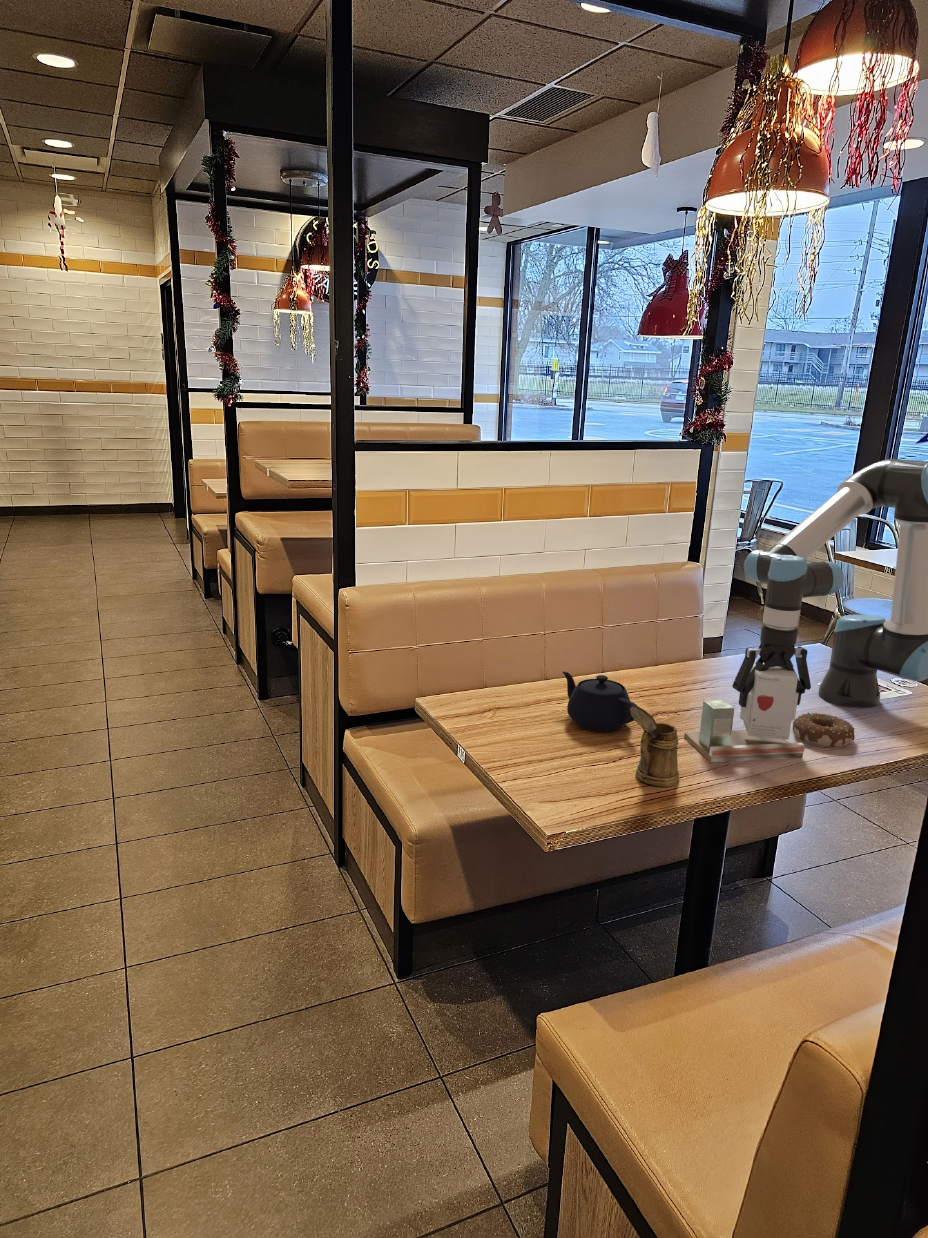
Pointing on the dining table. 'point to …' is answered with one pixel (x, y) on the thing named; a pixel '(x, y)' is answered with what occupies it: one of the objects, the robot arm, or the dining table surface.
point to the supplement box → (772, 703)
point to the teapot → (598, 703)
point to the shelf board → (747, 748)
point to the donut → (823, 730)
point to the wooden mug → (656, 751)
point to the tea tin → (716, 723)
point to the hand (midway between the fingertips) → (767, 719)
